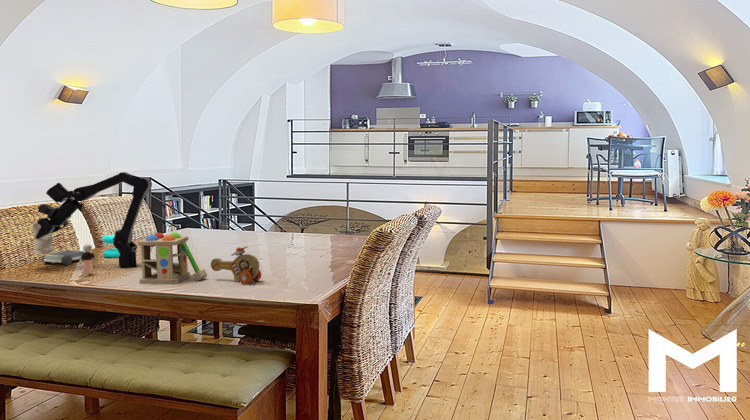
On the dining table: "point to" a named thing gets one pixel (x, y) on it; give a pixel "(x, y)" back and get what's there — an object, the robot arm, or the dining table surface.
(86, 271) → the grandmother figurine
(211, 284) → the dining table surface
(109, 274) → the dining table surface
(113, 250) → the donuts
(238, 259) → the toy helicopter
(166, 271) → the pounding bench toy
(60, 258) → the chassis
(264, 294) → the dining table surface
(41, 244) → the beige stone block
